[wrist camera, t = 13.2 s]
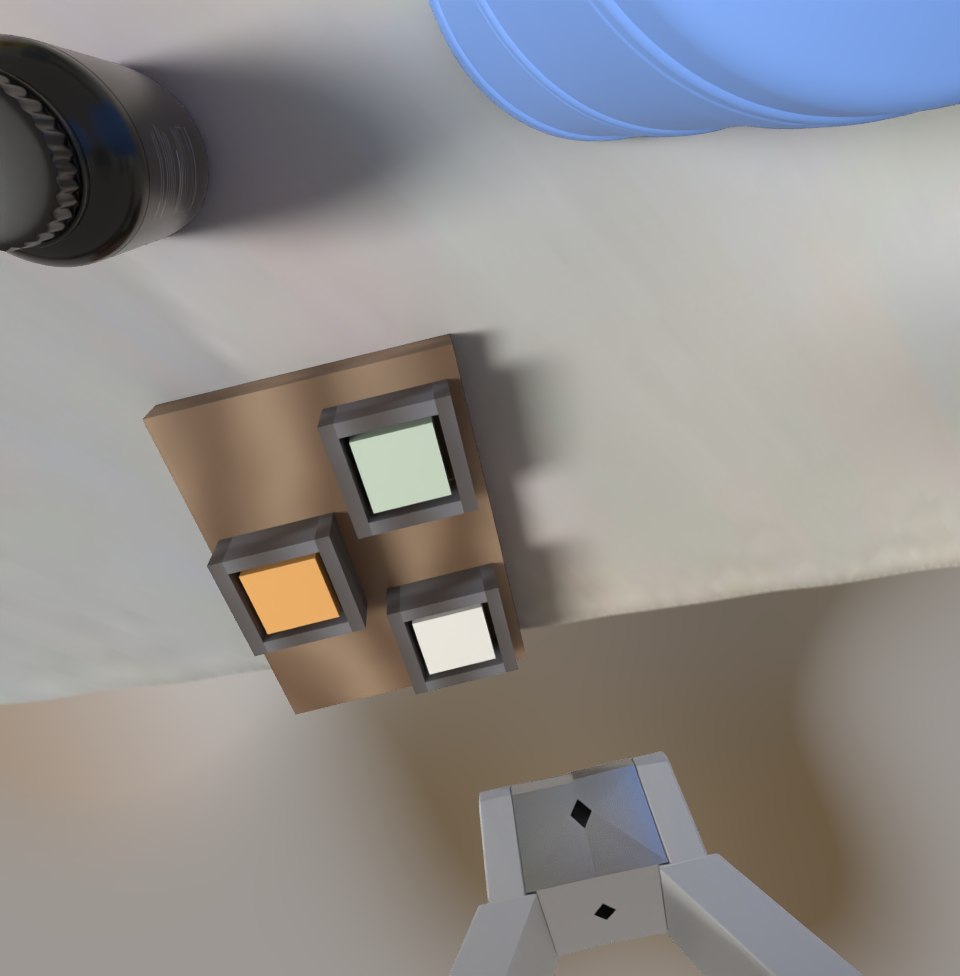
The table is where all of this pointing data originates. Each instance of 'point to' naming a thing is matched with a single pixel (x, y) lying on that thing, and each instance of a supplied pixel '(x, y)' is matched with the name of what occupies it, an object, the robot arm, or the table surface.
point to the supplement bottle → (90, 157)
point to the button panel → (343, 518)
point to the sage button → (401, 464)
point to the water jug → (704, 62)
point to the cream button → (454, 638)
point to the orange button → (291, 593)
